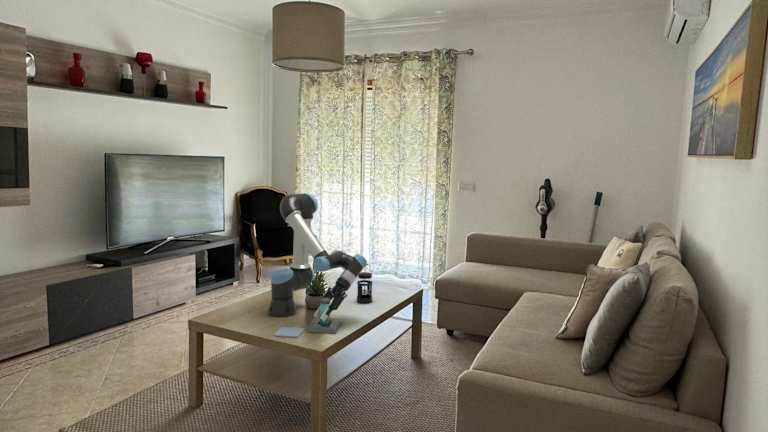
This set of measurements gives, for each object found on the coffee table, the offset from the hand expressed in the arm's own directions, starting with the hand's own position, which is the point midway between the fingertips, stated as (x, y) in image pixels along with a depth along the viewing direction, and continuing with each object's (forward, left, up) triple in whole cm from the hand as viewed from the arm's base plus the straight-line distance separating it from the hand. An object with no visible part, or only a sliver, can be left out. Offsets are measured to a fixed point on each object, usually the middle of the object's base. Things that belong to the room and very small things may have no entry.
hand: (318, 318), depth 263 cm
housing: (+2, +3, -6) cm, 7 cm away
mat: (-13, -7, -6) cm, 16 cm away
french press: (+13, +54, -6) cm, 56 cm away
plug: (+2, +3, -6) cm, 7 cm away
